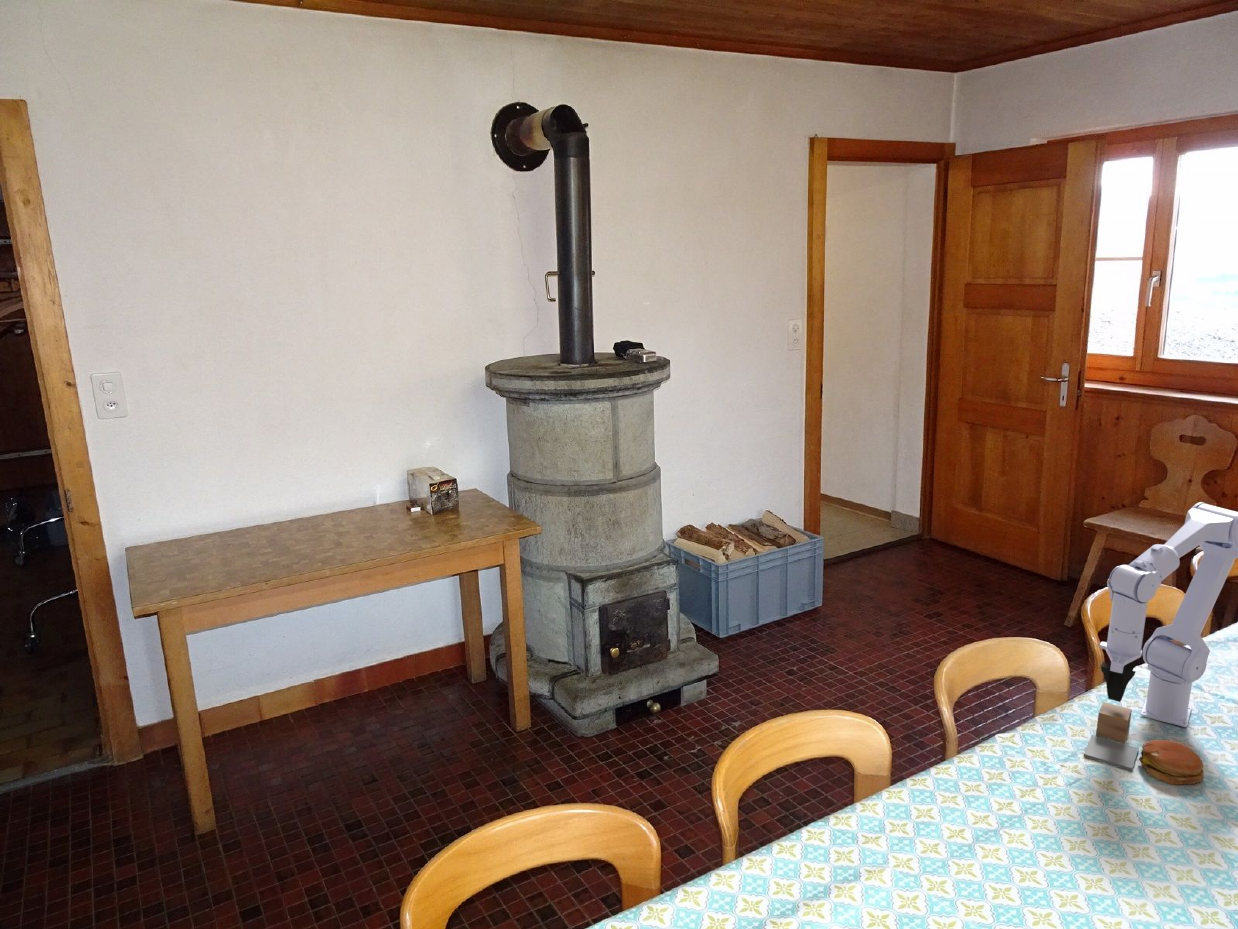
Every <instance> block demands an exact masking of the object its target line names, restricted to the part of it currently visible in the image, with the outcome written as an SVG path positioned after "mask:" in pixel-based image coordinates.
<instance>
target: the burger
mask: <svg viewBox="0 0 1238 929" xmlns="http://www.w3.org/2000/svg"><path fill="white" fill-rule="evenodd" d="M1140 755H1141V756H1140V757H1139V758H1138V760H1139V761H1140V763H1141V764H1142V766H1143V767H1144V768H1145V772H1146V774H1148V775H1149V776H1151V777H1152V778H1154V779H1155V780H1158V781H1160V782H1164V783H1166V784H1170V785H1176V786H1179V785H1180V786H1182V785H1184V784H1187V785H1193V784H1198V783H1201V782H1202V781H1203V780H1204V764H1203V763H1204V762H1203V761H1202V758H1201V757H1200V756H1199V755H1198V753H1197V752H1195V751H1194V750H1193V749H1192V748H1190V747H1189V746H1188V745H1185V744H1184V743H1180V742H1178V741H1173V740H1167V739H1153V740H1149V741H1146V742H1144V743H1143V745H1142V746H1141V751H1140Z"/></svg>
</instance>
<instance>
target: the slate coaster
mask: <svg viewBox="0 0 1238 929" xmlns="http://www.w3.org/2000/svg"><path fill="white" fill-rule="evenodd" d="M1139 750H1140V749H1139V747H1136V746H1133V745H1129V744H1126V743H1122V742H1119V741H1115V740H1112V739H1108V738H1105V737H1101V736H1098V735H1096V734H1095V735H1094V734H1091V736H1090V738H1089V740H1088V742H1087V745H1086V748H1085V750H1084V753H1083V757H1084V758H1087V759H1091V760H1093V761H1096V762H1097V761H1098V762H1100V763H1104V764H1106V765H1111V766H1114V767H1117V768H1120V769H1123V770H1126V771H1130V772H1132V771H1133V769H1134V766H1135V763H1136V760H1137V756H1138V754H1139Z"/></svg>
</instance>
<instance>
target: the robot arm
mask: <svg viewBox="0 0 1238 929" xmlns="http://www.w3.org/2000/svg"><path fill="white" fill-rule="evenodd" d="M1197 547H1201V548H1202V551H1203V555H1202V558H1201V560H1200V562H1199V564H1198V566H1197V569H1196V570H1195V572H1194V575H1193V578H1192V579H1191V581H1190V583H1189V585H1188V588H1187V590H1186V592H1185V594H1184V596H1183V599H1182V601H1181V603H1180V604H1179V607H1178V609H1177V612H1176V614H1175V616H1174V618H1173V620H1172V622H1171V624H1167V625H1164V626H1160V627H1156V629H1155V630H1154V632H1153V634H1152V635H1151V636H1150V637H1149V638H1148V640H1146V642H1145V643H1144V645H1143V639H1144V631H1145V625H1146V624H1145V623H1146V618H1147V612H1148V611H1147V610H1148V603H1149V601H1151V600H1152V599H1153V598H1154V596H1155V595H1156V594H1157V592H1158V590H1159V588H1160V587H1161V585H1162V582H1163V581H1164V580H1165V579H1166V578H1167V577H1168V576H1170V575H1171V574H1172V573H1173V572H1175V571H1176V570H1177V569H1178V568H1179V567H1180V563H1181V562H1180V561H1181V560H1180V558H1181V557H1183V556H1185V555H1186V554H1188V553H1190V552H1191V551H1192V550H1194V549H1195V548H1197ZM1237 558H1238V511H1235V510H1231V509H1227V508H1223V507H1219V506H1215V505H1212V504H1208V503H1206V502H1203V501H1200V502H1197V503H1195V504H1194V505H1193V506H1192V507H1191V508H1190V509H1189V510H1187V513H1186V516H1185V520H1184V524H1183V525H1182V526H1181V527H1180V528H1179V529H1178V530H1177V531H1176V532H1175V533H1174V534H1173V535H1172V536H1171V537H1170V538H1169V539H1168V540H1167V541H1166V542H1165V543H1164V544H1161V543H1160V544H1159V543H1157V544H1153V545H1152V546H1150V548H1147V550H1145V551H1144V552H1143V553H1142V554H1140V555H1139V556H1138V557H1136V558H1135V559H1134V560H1132V561H1131V562H1130V563H1129V564H1121V565H1118V566H1116V567H1114V568H1113V569H1112V571H1111V572H1110V574H1109V577H1108V579H1107V581H1106V585H1107V588H1108V590H1109V600H1110V601H1111V602H1112V604H1111V610H1110V618H1109V626H1108V632H1107V640H1106V641H1101V642H1100V643H1099V648H1100V649H1103V650H1105V651H1106V654H1107V656H1108V658H1109V660H1110V662H1105V661H1102V662H1101V665H1100V670H1101V672H1102V674H1103V676H1104V679H1105V683H1106V694H1107V699H1108V700H1111V701H1115V702H1119V703H1120V702H1121V701H1122V699H1123V698H1124V694H1125V691H1126V689H1127V686H1128V684H1129V682H1130V681H1131V680H1132V679H1133V677H1134V676H1136V672H1137V671H1135V670H1134V668H1135V666H1136V664H1137V663H1138V661H1139V660H1140V659H1141V658H1143V661H1144V663H1146V664H1147V666H1146V667H1147V668H1146V669H1147V670H1149V671H1150V674H1149V680H1148V687H1147V689H1148V690H1147V694H1146V698H1145V700H1144V704H1143V706H1142V710H1141V712H1140V716H1142V717H1145V718H1148V719H1153V720H1156V721H1160V722H1163V723H1168V724H1171V725H1174V726H1179V727H1182V728H1187V727H1188V724H1189V720H1190V717H1191V712H1192V705H1190V699H1191V693H1192V692H1191V691H1192V687H1193V682H1196V681H1198V680H1199V679H1201V678H1202V677H1203V675H1204V674H1205V671H1206V669H1207V665H1208V664H1207V662H1208V658H1209V656H1210V655H1209V654H1210V652H1211V650H1210V648H1209V646H1208V644H1207V643H1206V642H1205V640H1204V638H1202V636H1201V634H1202V631H1203V630H1204V627H1205V625H1206V623H1207V622H1208V619H1209V616H1210V615H1211V613H1212V610H1213V608H1214V606H1215V604H1216V601H1217V599H1218V597H1219V595H1220V593H1221V591H1222V589H1223V587H1224V585H1225V582H1226V580H1227V579H1228V576H1229V574H1230V572H1231V569H1232V567H1233V565H1234V563H1235V561H1236V559H1237ZM1174 641H1177V642H1179V643H1181V644H1179V643H1177V642H1174ZM1182 644H1184V645H1187V646H1189V647H1187V646H1184V645H1182ZM1142 646H1143V648H1142Z"/></svg>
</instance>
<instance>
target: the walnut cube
mask: <svg viewBox="0 0 1238 929" xmlns="http://www.w3.org/2000/svg"><path fill="white" fill-rule="evenodd" d="M1132 713H1133V709H1132V708H1128V707H1124V706H1121V705H1116V704H1113V703H1109V702H1105V701H1102V704H1101V706H1100V709H1099V711H1098V717H1097V722H1096V723H1097V724H1096V732H1095V736H1098V737H1102V738H1105V739H1109V740H1112V741H1116V742H1119V743H1123V744H1126V741H1127V737H1128V735H1129V733H1130V727H1131V726H1130V725H1131V718H1132Z"/></svg>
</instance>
